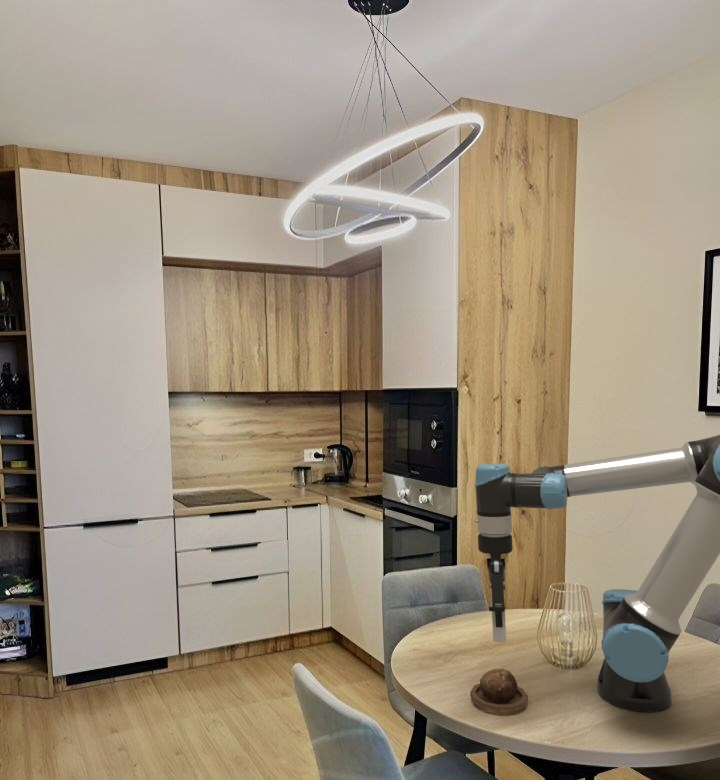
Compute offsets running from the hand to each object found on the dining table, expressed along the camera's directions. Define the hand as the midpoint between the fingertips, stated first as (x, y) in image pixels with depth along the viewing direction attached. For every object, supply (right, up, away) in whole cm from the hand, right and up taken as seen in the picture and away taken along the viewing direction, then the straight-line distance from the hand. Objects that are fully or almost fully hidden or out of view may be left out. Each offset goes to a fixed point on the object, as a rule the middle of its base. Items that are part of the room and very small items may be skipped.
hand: (498, 630), depth 133 cm
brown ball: (0, -15, -1) cm, 15 cm away
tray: (0, -16, 0) cm, 16 cm away
